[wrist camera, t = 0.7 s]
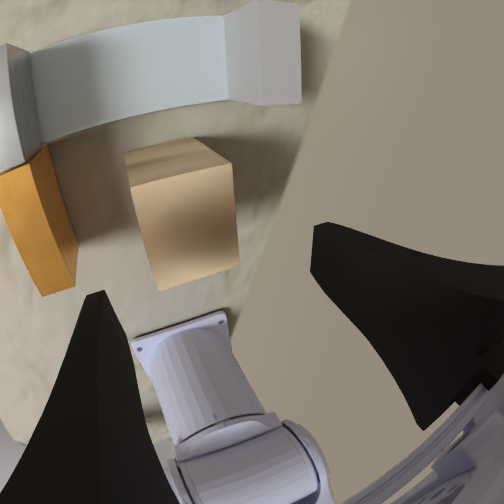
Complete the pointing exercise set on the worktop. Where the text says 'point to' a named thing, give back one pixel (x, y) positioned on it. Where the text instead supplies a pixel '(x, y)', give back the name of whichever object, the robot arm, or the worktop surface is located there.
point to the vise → (169, 67)
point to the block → (184, 210)
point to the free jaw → (32, 181)
